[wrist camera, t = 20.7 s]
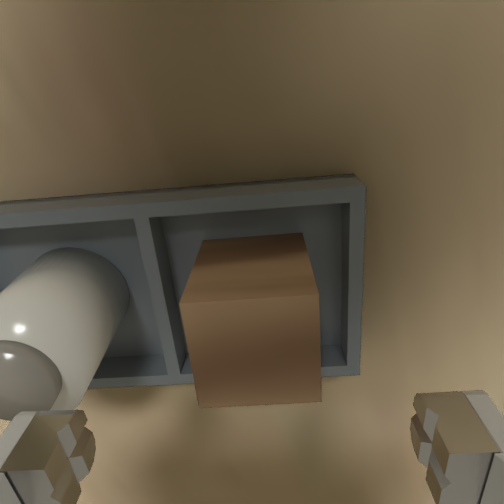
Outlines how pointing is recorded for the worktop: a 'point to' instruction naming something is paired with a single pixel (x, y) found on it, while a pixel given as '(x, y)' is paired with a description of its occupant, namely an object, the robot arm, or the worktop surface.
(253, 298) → the walnut block
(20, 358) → the salt pot
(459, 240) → the worktop surface
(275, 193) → the tray
